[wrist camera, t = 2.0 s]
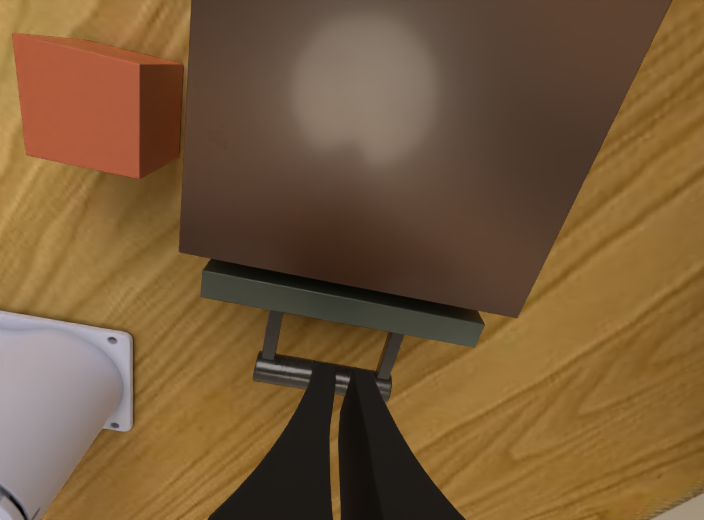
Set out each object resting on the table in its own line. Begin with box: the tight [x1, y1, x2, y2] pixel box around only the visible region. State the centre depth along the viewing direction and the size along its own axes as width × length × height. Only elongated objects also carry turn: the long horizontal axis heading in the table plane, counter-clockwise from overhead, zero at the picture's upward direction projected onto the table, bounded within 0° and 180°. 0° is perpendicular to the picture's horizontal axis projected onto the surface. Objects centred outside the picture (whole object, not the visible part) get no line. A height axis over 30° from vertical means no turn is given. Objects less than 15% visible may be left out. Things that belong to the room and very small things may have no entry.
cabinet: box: [179, 0, 672, 318], centre depth 15 cm, size 14×12×7 cm
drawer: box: [201, 259, 485, 402], centre depth 17 cm, size 18×11×6 cm, turn 167°
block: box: [12, 33, 183, 179], centre depth 17 cm, size 4×4×4 cm
